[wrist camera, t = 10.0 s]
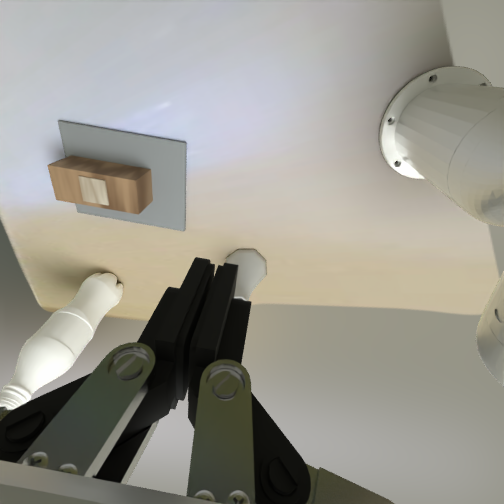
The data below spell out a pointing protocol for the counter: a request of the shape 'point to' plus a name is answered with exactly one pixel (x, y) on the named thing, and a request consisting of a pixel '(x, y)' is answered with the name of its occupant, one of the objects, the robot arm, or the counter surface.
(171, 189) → the mat
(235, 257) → the flask
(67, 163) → the cardboard box
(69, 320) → the water bottle
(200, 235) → the counter surface
